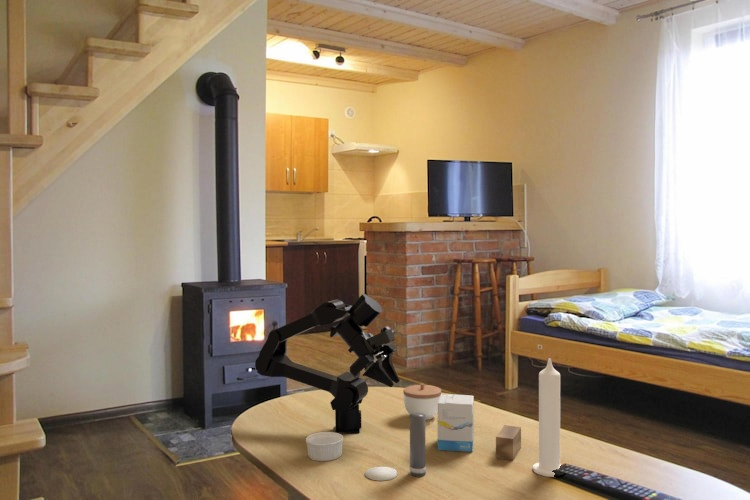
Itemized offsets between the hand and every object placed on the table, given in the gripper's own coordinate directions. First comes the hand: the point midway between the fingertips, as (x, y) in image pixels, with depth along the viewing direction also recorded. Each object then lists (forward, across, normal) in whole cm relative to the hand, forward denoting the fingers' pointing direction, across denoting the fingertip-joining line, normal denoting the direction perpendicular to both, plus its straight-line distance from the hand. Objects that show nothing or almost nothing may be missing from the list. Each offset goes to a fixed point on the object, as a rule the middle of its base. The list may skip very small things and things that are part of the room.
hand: (395, 384), depth 161 cm
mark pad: (+14, -24, +5) cm, 28 cm away
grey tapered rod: (+19, -20, 0) cm, 28 cm away
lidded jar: (+10, +18, +9) cm, 23 cm away
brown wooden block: (+30, 0, -11) cm, 32 cm away
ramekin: (+2, -18, +17) cm, 25 cm away
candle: (+38, -8, -18) cm, 43 cm away
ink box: (+21, 0, -2) cm, 21 cm away
